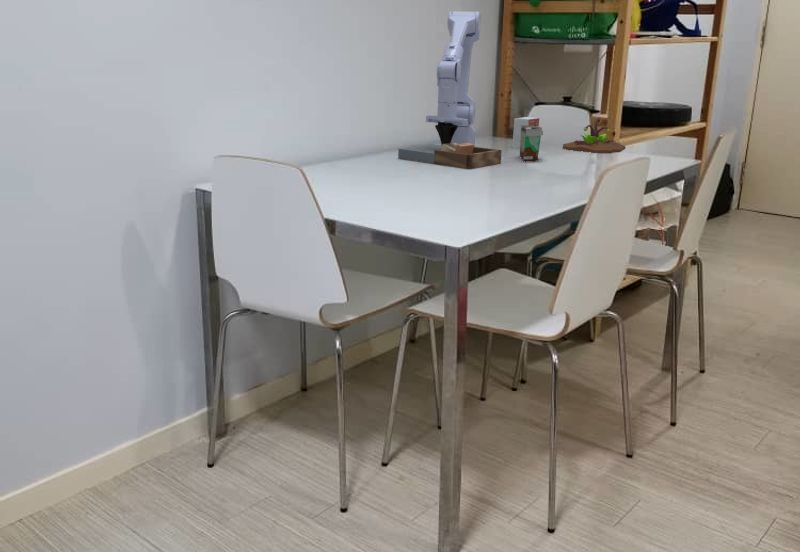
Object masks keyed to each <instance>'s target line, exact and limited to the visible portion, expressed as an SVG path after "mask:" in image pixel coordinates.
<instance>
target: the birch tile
mask: <svg viewBox="0 0 800 552" xmlns="http://www.w3.org/2000/svg"><path fill="white" fill-rule="evenodd" d="M441 146H442V147H441V151H449V152H455V150H456V146H457V143H447V144H442V145H441Z"/></svg>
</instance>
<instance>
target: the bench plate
mask: <svg viewBox="0 0 800 552" xmlns="http://www.w3.org/2000/svg"><path fill="white" fill-rule="evenodd" d="M441 147H442V145H440V144H431V143H430V144H425V145H424V144H423V145H417V146H408V147H401V148H400V147H399V148H398V149H397V150H398V152H397V156H398V158H397V159H399V160H404V161H405V160H406V161H412V162H420V163H427V164H432V165H434V150H441Z"/></svg>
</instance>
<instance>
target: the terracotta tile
mask: <svg viewBox="0 0 800 552" xmlns="http://www.w3.org/2000/svg"><path fill="white" fill-rule="evenodd" d="M473 148H474V144H471V143H462V144H457V146H456V150H455V152H456V153H463V154H472V152H473Z"/></svg>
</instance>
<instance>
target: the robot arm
mask: <svg viewBox="0 0 800 552" xmlns="http://www.w3.org/2000/svg"><path fill="white" fill-rule="evenodd" d="M446 22H447V29H448V32H449V36H450V42H449V43H447V44H446V46H445V48H444V50H443V55H442V59H441V61H440V62H438V63H437V65H436V80H437V81H436V85H437V87H438V90H437V91H438V93H437V115H431V114H430V115H426V116H425V122H426V123H434V124H435V129H436V132H437V134H438V137H439V140H440V144H441V145H440V146H442V144H447V143H457V144H462V143H471V144H474V147H476V129H475V128H474V127H473V126H472V125H473V124H474V123H475V121H476V101H475V100H474V99H473V98H472V96H471V95H469V86H470V85H469V84H470V75H471V74H470V73H471V65H472V64H471V62H472V53H473V52H472V51H473V46H474V43H475V42H477V41H479V39H480V37H481V29H482V28H481V26H482V15H481V13H480V12H479V11H478V10H476V11H454V10H450V11H449V13H448V14H447V21H446Z"/></svg>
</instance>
